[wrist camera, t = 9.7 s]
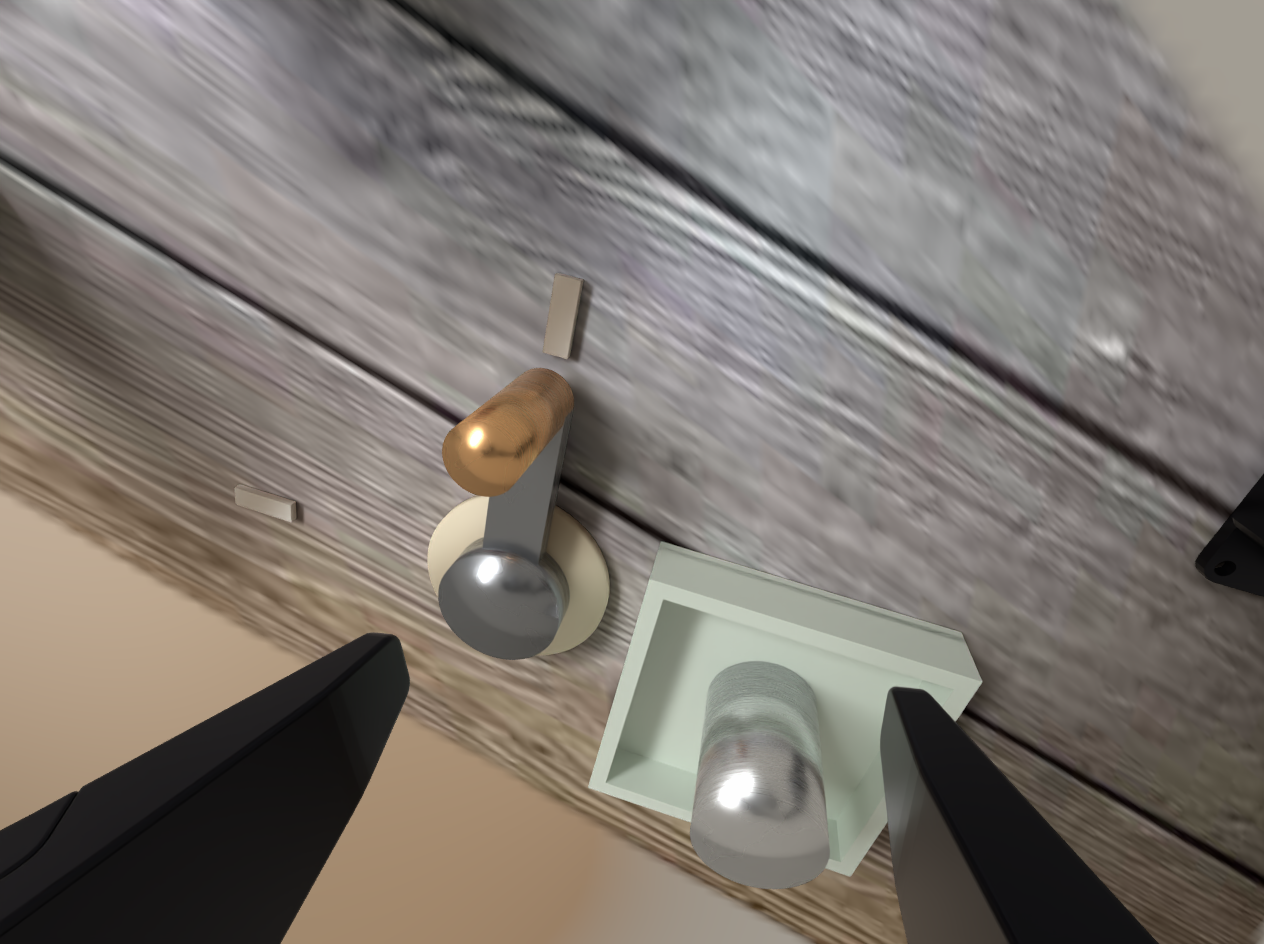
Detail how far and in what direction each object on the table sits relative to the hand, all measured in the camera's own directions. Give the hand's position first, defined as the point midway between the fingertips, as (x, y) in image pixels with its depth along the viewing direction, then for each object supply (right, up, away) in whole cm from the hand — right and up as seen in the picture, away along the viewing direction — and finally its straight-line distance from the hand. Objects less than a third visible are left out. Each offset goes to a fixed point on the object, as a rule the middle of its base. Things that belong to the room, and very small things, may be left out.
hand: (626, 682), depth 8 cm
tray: (+5, -6, +15) cm, 17 cm away
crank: (-4, +1, +13) cm, 13 cm away
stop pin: (+5, -6, +15) cm, 16 cm away
